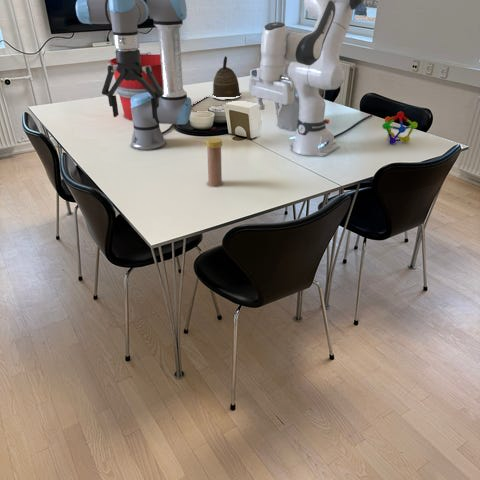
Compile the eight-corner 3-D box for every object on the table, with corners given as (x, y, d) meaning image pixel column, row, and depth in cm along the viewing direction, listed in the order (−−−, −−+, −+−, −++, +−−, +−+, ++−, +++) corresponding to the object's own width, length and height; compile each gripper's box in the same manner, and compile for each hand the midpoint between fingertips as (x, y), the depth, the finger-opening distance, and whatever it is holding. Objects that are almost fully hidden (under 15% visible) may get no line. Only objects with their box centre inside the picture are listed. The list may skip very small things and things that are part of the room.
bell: (227, 105, 294) (202, 96, 282) (238, 66, 289) (213, 55, 277) (243, 108, 280) (217, 98, 268) (255, 66, 275) (229, 55, 263)
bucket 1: (123, 105, 263) (116, 51, 247) (182, 106, 262) (179, 52, 247) (107, 123, 234) (97, 63, 218) (173, 124, 233) (168, 64, 217)
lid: (224, 146, 161) (224, 141, 160) (209, 149, 159) (209, 143, 158) (218, 141, 166) (218, 136, 165) (203, 143, 164) (203, 138, 163)
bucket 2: (296, 138, 215) (301, 78, 201) (255, 124, 234) (256, 68, 219) (335, 125, 232) (342, 70, 217) (294, 113, 251) (297, 61, 236)
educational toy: (377, 146, 209) (379, 114, 202) (384, 138, 219) (386, 107, 211) (411, 149, 202) (415, 116, 195) (417, 141, 212) (420, 109, 204)
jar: (223, 185, 170) (223, 142, 161) (211, 187, 168) (209, 144, 159) (218, 180, 174) (217, 138, 165) (206, 182, 172) (205, 139, 163)
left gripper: (84, 50, 136) (95, 118, 148) (163, 52, 134) (168, 121, 145) (93, 46, 143) (104, 112, 154) (169, 48, 140) (174, 114, 152)
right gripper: (299, 77, 153) (296, 116, 160) (259, 68, 166) (257, 105, 173) (287, 79, 149) (284, 120, 157) (246, 70, 162) (245, 108, 170)
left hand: (135, 116), depth 150 cm, fingers open, 13 cm apart
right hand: (270, 112), depth 165 cm, fingers open, 8 cm apart
